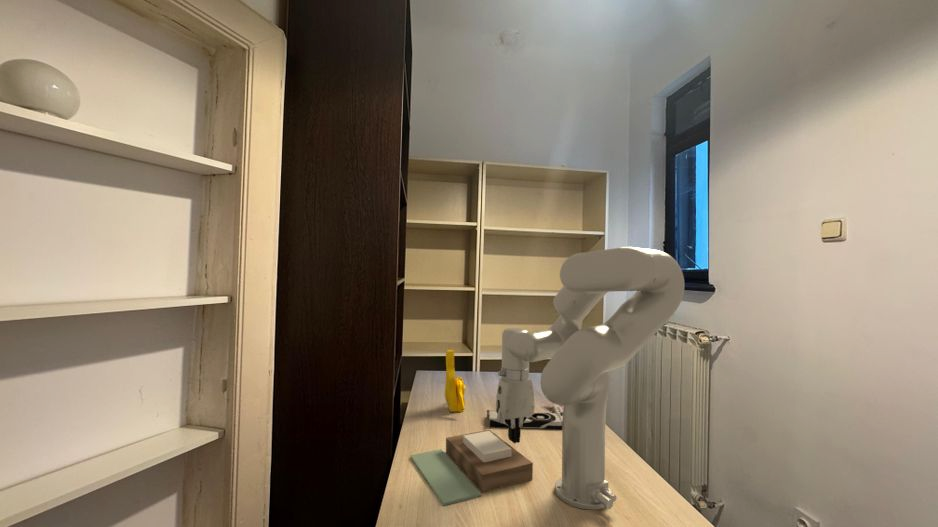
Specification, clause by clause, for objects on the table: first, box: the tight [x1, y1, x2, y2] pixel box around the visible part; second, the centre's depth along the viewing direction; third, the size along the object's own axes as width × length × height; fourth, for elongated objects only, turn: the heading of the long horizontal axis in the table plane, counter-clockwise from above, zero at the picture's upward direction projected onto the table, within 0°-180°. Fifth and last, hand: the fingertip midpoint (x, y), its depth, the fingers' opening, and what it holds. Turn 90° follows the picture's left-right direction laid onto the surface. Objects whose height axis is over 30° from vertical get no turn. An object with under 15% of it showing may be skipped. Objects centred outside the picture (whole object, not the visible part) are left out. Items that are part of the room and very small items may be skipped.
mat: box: [410, 448, 481, 507], centre depth 95 cm, size 24×9×1 cm, turn 26°
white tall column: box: [553, 403, 564, 424], centre depth 137 cm, size 6×6×25 cm
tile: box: [463, 431, 512, 463], centre depth 101 cm, size 12×8×2 cm, turn 26°
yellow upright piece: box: [444, 349, 467, 413], centre depth 142 cm, size 18×8×22 cm, turn 9°
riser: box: [445, 429, 534, 493], centre depth 101 cm, size 22×14×4 cm, turn 26°
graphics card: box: [486, 409, 562, 431], centre depth 129 cm, size 10×3×25 cm
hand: (514, 440), depth 105 cm, fingers closed
